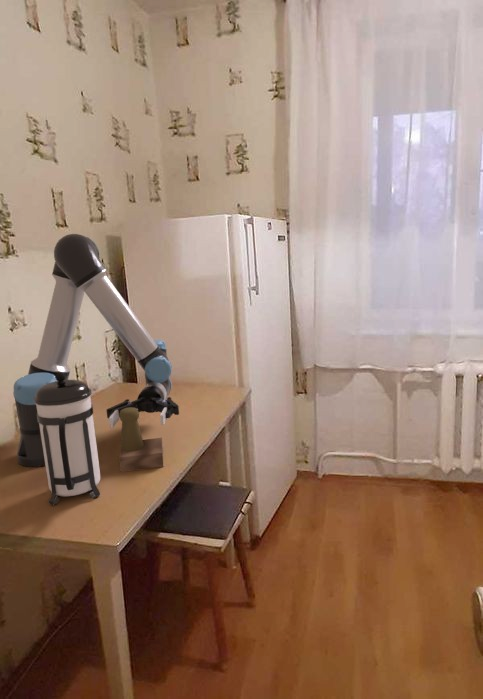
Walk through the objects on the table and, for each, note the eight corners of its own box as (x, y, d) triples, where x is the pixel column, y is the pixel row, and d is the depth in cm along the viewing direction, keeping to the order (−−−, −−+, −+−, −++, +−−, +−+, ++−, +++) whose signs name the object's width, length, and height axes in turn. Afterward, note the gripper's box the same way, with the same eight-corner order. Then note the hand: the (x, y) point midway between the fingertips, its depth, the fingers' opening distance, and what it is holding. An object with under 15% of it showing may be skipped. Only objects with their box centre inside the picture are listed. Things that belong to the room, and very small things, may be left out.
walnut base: (120, 471, 132) (119, 457, 131) (123, 455, 142) (122, 442, 142) (163, 466, 133) (161, 452, 133) (163, 450, 144) (161, 437, 143)
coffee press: (26, 499, 120) (7, 378, 114) (82, 473, 133) (67, 362, 127) (72, 518, 110) (53, 386, 104) (127, 487, 123) (113, 368, 117)
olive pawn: (146, 442, 140) (142, 404, 138) (140, 451, 134) (136, 412, 132) (125, 442, 141) (121, 405, 139) (118, 451, 135) (113, 412, 133)
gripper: (193, 407, 154) (184, 432, 133) (113, 411, 155) (91, 437, 134) (191, 383, 152) (182, 405, 132) (110, 387, 153) (88, 410, 133)
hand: (136, 421), depth 133 cm, fingers open, 13 cm apart
